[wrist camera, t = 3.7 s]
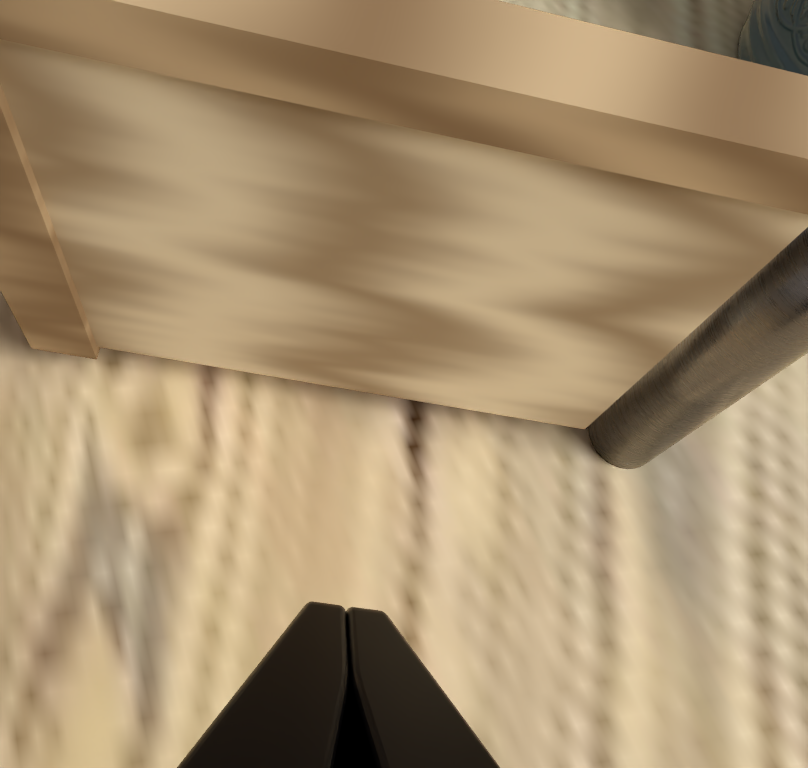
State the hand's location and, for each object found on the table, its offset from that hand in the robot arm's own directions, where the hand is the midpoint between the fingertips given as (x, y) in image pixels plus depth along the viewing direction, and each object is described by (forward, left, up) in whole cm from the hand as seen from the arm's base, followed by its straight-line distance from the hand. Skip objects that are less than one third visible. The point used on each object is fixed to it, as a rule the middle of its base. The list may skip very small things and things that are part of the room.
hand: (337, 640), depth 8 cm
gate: (+8, +4, -12) cm, 15 cm away
